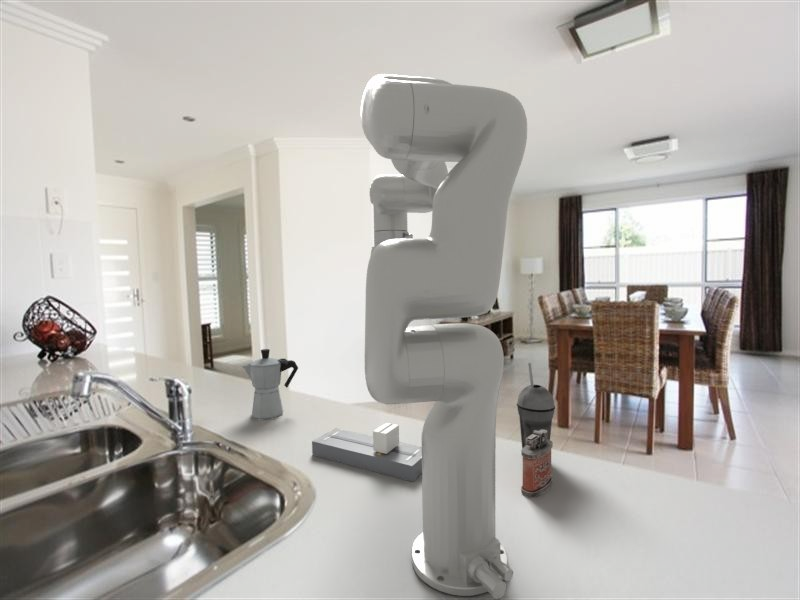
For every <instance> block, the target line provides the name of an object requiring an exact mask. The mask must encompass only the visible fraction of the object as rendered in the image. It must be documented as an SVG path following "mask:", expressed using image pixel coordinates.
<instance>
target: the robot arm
mask: <svg viewBox="0 0 800 600" xmlns="http://www.w3.org/2000/svg"><path fill="white" fill-rule="evenodd" d="M360 119H361V120H360V121H361V127H362V130H363V133H364V135H365V138H366V139H367V140H368V142H369V144H370V145H371V146H372V148H373V149H374V151H375V152H376V153H377V154H378V155H379V156H380V157H382V158H384V159H388V160H390V161H391V163H392V165H393V166H394V168H395V170H397V172H398V173H399V174H392V173H391V174H390V173H389V174H378V175H376V176H375V177H374V178H373V180H372V182H371V183H370V184H369V200H370V204H372V206H373V243H374V244H373V246H372V247H371V251H370V257H369V260H368V263H367V269H366V278H365V279H366V281H365V282H366V283H365V306H364V307H365V309H364V310H365V311H364V312H365V313H364V314H365V319H364V321H365V322H364V376H365V377H364V378H365V384H366V387H367V391H368V393H369V395H370V397H371V398H372V399H373V400H374V401H376V402H377V403H380V404H381V405H382V404H383V405H406V404H416V403H417V404H418V403H419V404H420V403H429V402H434V403H433V405H432V407H431V408H430V410H429V411H428V413H427V415H426V418H425V420H424V422H423V425H422V430H421V447H422V473H421V480H422V481H421V487H422V488H421V496H422V497H421V499H422V500H421V502H422V505H421V506H422V532H421V533H420V534H419V535H418V536H417V537H416V539H415V540H414V541H413V544H412V546H411V553H410V555H411V563H412V567H413V570H414V572H415V573H416V575H417V576H418V578H420V579H421V580H422V581H423V582H424V583H425V584H427V585H428V586H429V587H431V588H433V589H435V590H437V591H439V592H441V593H445V594H448V595H453V596H459V597H460V596H462V597H463V596H464V597H465V596H468V597H471V596H476V595H478V596H479V595H482V594H485V593H489V594H490V595H491V596H492V597H493V598H494V599H496V600H498V599H501V598H502V597H503V596H504V595H505V593H506V589H507V585H506V582H508V581H511V580H512V579H513V576H514V571H513V569H512V568H511V567H510V566H509V558H508V553H507V551H506V548H505V546H504V545H503V544H502V542H501V541H500V540H499V539H498V538H497V537H496V536H497V535H496V534H497V533H496V532H497V531H496V529H497V528H496V526H497V525H496V445H497V444H496V434H497V433H496V428H497V424H496V423H497V407H498V399H499V393H500V390H501V389H500V388H501V383H502V378H503V373H504V364H505V362H504V356H505V355H504V350H503V346H502V343H501V341H500V338H498V336H497V335H496V333H494V332H493V331H492V330H491V329H489V328H488V327H486V326H483V325H479V324H476V323H469V322H467V323H466V322H465V323H463V322H461V323H460V322H456V323H437V324H436V323H435V324H434V323H433V324H425V325H410V323H411V322H413V321H422V320H424V321H425V320H443V319H458V318H459V319H460V318H461V319H462V318H463V319H464V318H472V317H476V316H480V315H485V314H486V313H488V312H490V311H491V310H492V308H493V306H494V305H495V303H496V300H497V298H498V293H499V288H500V283H501V274H502V266H503V265H502V264H503V257H504V247H505V239H506V237H505V236H506V228H507V216H508V209H509V203H510V198H511V195H512V191H513V188H514V184H515V182H516V180H517V177H518V174H519V171H520V168H521V165H522V162H523V158H524V155H525V151H526V148H527V141H528V140H527V139H528V121H527V120H528V119H527V115H526V110H525V108H524V106H523V104H522V102H521V101H520V100H519V99H518V98H517V97H516V96H515V95H513V94H511V93H509V92H507V91H504V90H501V89H496V88H493V87H492V88H490V87H483V86H476V85H475V86H474V85H465V84H452V83H451V82H449V81H446V80H444V79H439V78H434V77H422V76H412V75H411V76H410V75H401V74H399V75H398V74H389V73H388V74H387V73H386V74H385V73H384V74H383V73H381V74H376V75H374V76H373V77H372V78H371V79H370V80H369V81H368V82H367V84H366V87H365V89H364V91H363V95H362V98H361V105H360ZM446 162H447V163H456V164H455V165H454V166H453V167H452V169H450V171H449V170H448V166H447V163H446ZM408 213H409V214H411V213H412V214H413V213H416V214H427V213H432V214H431V229H430V233H429V235H428V237H425V238H414V235H413V233H409V229H408ZM504 580H505V581H506V582H504Z"/></svg>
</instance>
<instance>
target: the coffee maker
mask: <svg viewBox="0 0 800 600" xmlns="http://www.w3.org/2000/svg"><path fill="white" fill-rule="evenodd" d="M270 351H271V350H270V349H269V348H263V349H261V350H260V353H261V358H259V359H257V360H253V361H251V362H249V363H246V364H244V365H243V364H242V365H241V366H240V367H241V368H243V369H244V371H245V372H246V373H247V375H248V377H249V378H250V380H251V384H252V385H251V386H252V387H253V388H254V394H253V400H252V401H253V402H252V410H251V419H255V418H256V420H259V419H260V420H259V421H261V419H263V420H270V419H272V418H273V419H275V417H276V418H278V417H280V415H281V416H283V415H284V406H283V403H282V397H281V392H280V388H279V386H280V385H281V379H282V372H285V371H286V370H288V369H291V368H292V371H291V372H290V375H288V378H287V379H286V381H285V383H284V384H283V385H284V387H285V388H288V387H289V385H290V384H291V382H292V380H293V378H294V377H295V375H296V373H297V372H298V370H299V367H298V365H297V363H296V361H294V360H288V359H286V358H279V359H278V358H273V357H270Z"/></svg>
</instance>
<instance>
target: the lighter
mask: <svg viewBox="0 0 800 600" xmlns="http://www.w3.org/2000/svg"><path fill="white" fill-rule="evenodd" d="M553 446H554V445H553V441H552V440H551V439H550V440H548V439H547V430H543V429H542V430H540V431H537V430H534V431H533V434H532V435H530V436H529V437H527V438H526V446H525V447H524V448H523V449H522V448H521V450H520V451H521V457H522V485H521V487H520V489H521V490H520V491H521V495H522V496H524V497H526V498H530V499H531V498H536V497H538V496H540V495H543V494H544V493H545V492H547V491H548V490H549V489H550V488H551V487H552V485H553V476H552V448H553Z"/></svg>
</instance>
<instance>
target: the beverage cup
mask: <svg viewBox="0 0 800 600" xmlns="http://www.w3.org/2000/svg"><path fill="white" fill-rule="evenodd" d="M527 365H528V373H529V381H530V382H529V383H530V385H527V386H525V387H524V388H523V389H521V391H520V393H519V395H518V398H517V402H516V406H517V412H518V413H517V414H518V416H519V417H518V418H519V425H520V426H519V429H520V439H521V450H522V449H523V448H524V447H525V446H526V438H527V437H529V436H530V435H532V434H533V431H534V430H537V431H540V430H542V429H543V430H547V439H548V440H551V434H552V424H553V419H554V414H555V409H556V406H555V400H554V397H553V395H552V393H551V392H550V391H549V390H548V389H547V388H546V387H544V386H543V385H539V384H534V378H533V371H532V370H533V369H532V363H531V362H528V364H527Z"/></svg>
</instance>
